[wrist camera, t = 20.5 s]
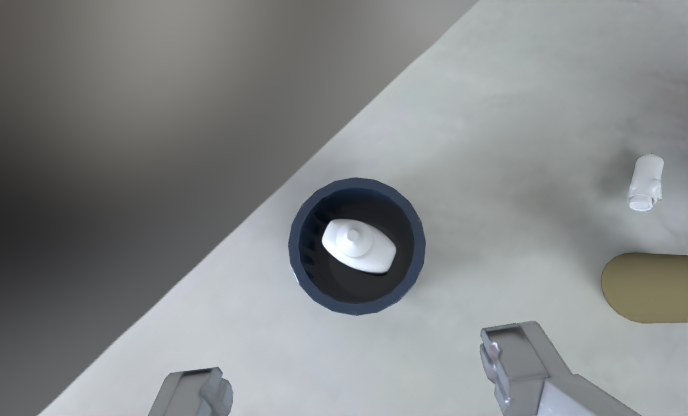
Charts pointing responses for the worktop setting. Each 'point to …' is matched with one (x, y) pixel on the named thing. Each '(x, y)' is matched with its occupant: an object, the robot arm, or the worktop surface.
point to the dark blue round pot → (340, 279)
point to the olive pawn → (648, 287)
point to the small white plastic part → (646, 183)
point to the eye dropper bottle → (359, 246)
